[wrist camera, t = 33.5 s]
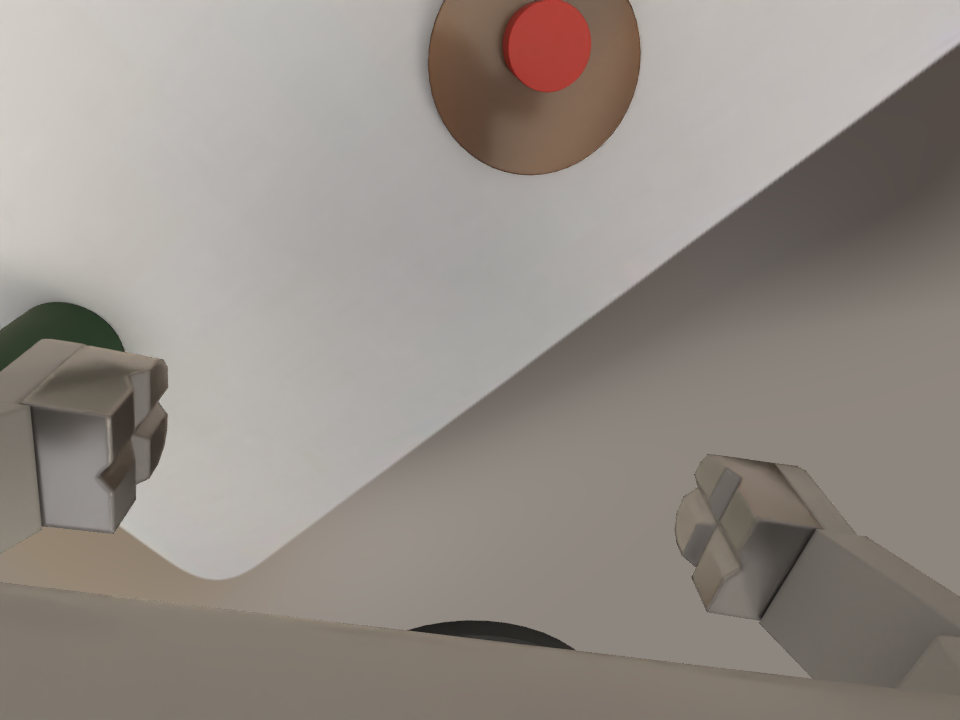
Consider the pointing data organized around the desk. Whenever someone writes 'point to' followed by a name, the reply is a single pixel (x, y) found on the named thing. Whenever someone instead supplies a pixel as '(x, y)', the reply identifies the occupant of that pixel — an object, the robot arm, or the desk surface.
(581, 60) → the cap
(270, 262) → the desk surface
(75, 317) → the bottle
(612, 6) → the coaster
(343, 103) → the desk surface
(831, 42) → the desk surface
